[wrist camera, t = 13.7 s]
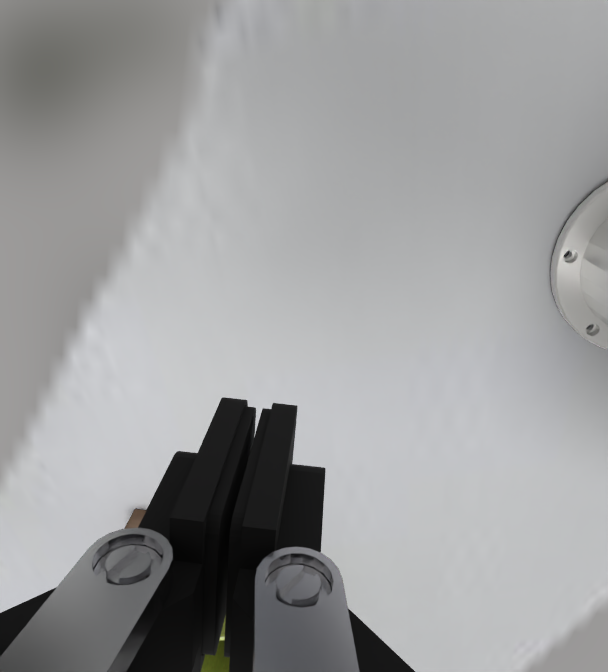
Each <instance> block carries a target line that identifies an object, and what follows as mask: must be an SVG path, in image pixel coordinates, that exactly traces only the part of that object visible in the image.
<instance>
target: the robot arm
mask: <svg viewBox="0 0 608 672" xmlns="http://www.w3.org/2000/svg"><path fill="white" fill-rule="evenodd" d="M568 250H569V255H568V256H566V257H564V254H565V253H566V252H567V251H568ZM550 276H551V286H552V293H553V296H554V299H555V302H556V305H557V307H558V309H559V311H560V312H561V314H562V316H563V317H564V319H565V320H566V321H567V322H568V324H569V325H570V326H571V327H572V328H573V329H574V330H575V331H576V332H577V333H578V334H580V335H581V336H582V337H583V338H584V339H586V340H587V341H589V342H591V343H593V344H595V345H596V346H598V347H600V348H603V349H606V350H608V182H606V183H605V184H604V185H602V186H601V187H599V188H598V189H596V190H595V191H594V192H593V193H592V194H591V195H589V196H588V197H587V198H586V199H585V200H584V201H583V202H582V203H581V204H580V205H579V206H578V208H577V209H576V210H575V211H574V213H573V214H572V215H571V217H570V218H569V219H568V221H567V222H566V224H565V226H564V228H563V230H562V232H561V234H560V236H559V237H558V240H557V243H556V246H555V249H554V253H553V256H552V264H551V273H550ZM590 324H591V326H590V327H589V328H587V327H588V326H589V325H590ZM296 417H297V406H295V405H286V404H277V403H273V405H272V409H263V410H262V413H261V416H260V420H259V423H258V427H257V431H256V434H255V418H256V408H254V407H248V404H247V400H241V399H232V398H222V399H221V401H220V403H219V406H218V408H217V410H216V413H215V415H214V417H213V419H212V422H211V424H210V426H209V429H208V431H207V433H206V435H205V438H204V440H203V442H202V445H201V447H200V449H199V452H198V453H190V452H181V451H178V452H176V453H175V455H174V457H173V459H172V461H171V463H170V465H169V467H168V469H167V471H166V473H165V475H164V477H163V479H162V480H161V482H160V484H159V486H158V488H157V490H156V492H155V494H154V496H153V498H152V500H151V502H150V504H149V506H148V508H147V510H146V512H145V514H144V516H143V518H142V520H141V522H140V524H139V526H138V528H128V529H121V530H118V531H115V532H112V533H109V534H107V535H105V536H104V537H102V538H100V539H98V540H97V541H96V542H95V543H94V544H93V545H92V546H91V547H90V548H89V549H88V550H87V551H86V552H85V554H84V555H83V556H82V557H81V558H80V560H79V561H78V562H77V563H76V565H75V566H74V567H73V568H72V569H71V571H70V572H69V573H68V574H67V576H66V577H65V578H64V579H63V580H62V582H61V583H60V584H59V585H58V587H56V588H54V589H52V590H50V591H48V592H46V593H43V594H41V595H39V596H37V597H35V598H32V599H30V600H28V601H26V602H24V603H21V604H19V605H17V606H15V607H13V608H11V609H8V610H6V611H4V612H2V613H0V672H201V669H202V665H203V661H204V657H205V654H206V655H214V656H215V655H216V652H217V648H218V644H219V640H220V636H221V631H222V627H223V623H224V619H225V615H226V619H225V641H224V657H230V662H229V672H415V671H414V670H413V669H412V668H411V667H410V666H409V665H407V664H406V663H405V662H404V661H403V660H402V659H401V658H400V657H399V656H398V655H397V654H396V653H395V652H394V651H393V650H392V649H391V648H389V647H388V646H387V645H386V644H385V643H384V642H383V641H382V640H381V639H380V638H379V637H378V636H377V635H376V634H375V633H374V632H373V631H372V630H370V629H369V628H368V627H367V626H366V625H365V624H364V623H363V622H362V621H361V620H360V619H359V618H358V617H357V616H356V615H355V614H354V613H352V612H351V611H350V610H349V609H348V606H347V601H346V595H345V590H344V584H343V579H342V576H341V574H340V571H339V569H338V567H337V566H336V565H335V564H334V562H333V561H332V560H331V559H329V558H328V557H327V556H325V555H324V554H322V553H321V536H322V518H323V501H324V484H325V468H321V467H312V466H304V465H295V464H292V460H293V449H294V438H295V428H296ZM254 434H255V438H254Z"/></svg>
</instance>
